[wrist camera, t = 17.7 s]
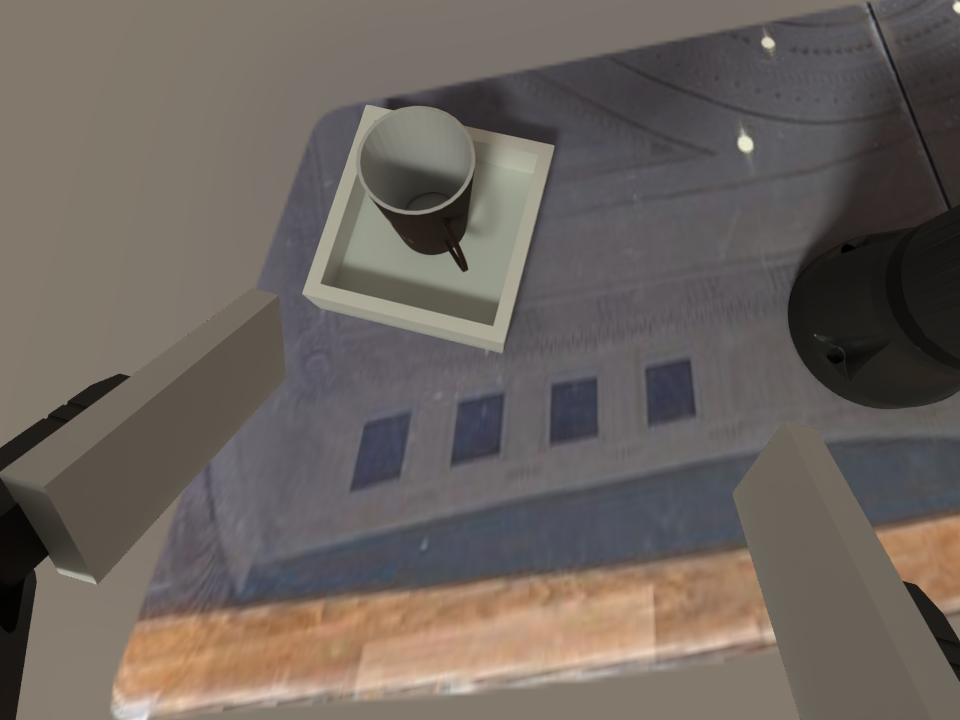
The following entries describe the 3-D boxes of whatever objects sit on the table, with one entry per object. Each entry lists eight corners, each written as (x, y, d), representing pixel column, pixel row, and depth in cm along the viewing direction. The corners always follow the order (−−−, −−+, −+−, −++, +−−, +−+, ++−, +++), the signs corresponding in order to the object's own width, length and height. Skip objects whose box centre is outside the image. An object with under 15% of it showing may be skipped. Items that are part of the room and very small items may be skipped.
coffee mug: (387, 180, 45) (358, 107, 36) (478, 179, 45) (475, 104, 35) (383, 299, 43) (351, 256, 34) (479, 298, 43) (475, 254, 33)
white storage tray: (549, 171, 46) (554, 145, 42) (502, 353, 43) (503, 343, 39) (376, 133, 48) (366, 104, 44) (319, 307, 44) (302, 293, 41)
